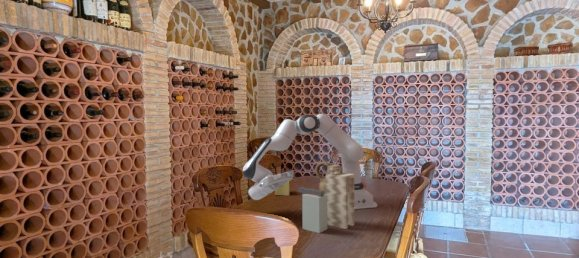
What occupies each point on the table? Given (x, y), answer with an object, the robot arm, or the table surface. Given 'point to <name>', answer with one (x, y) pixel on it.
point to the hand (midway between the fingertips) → (287, 172)
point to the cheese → (283, 190)
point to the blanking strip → (311, 191)
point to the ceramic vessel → (322, 180)
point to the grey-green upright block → (314, 213)
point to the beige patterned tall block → (339, 197)
